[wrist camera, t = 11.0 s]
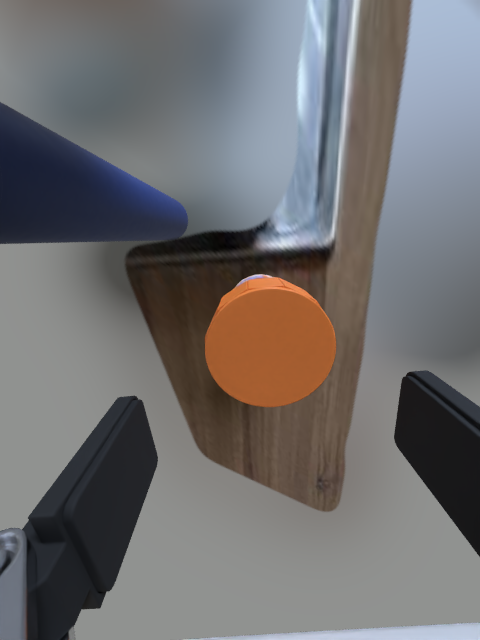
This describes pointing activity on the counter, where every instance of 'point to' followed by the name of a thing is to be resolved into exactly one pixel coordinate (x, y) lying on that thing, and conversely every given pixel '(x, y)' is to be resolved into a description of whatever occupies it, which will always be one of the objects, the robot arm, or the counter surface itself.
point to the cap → (269, 343)
